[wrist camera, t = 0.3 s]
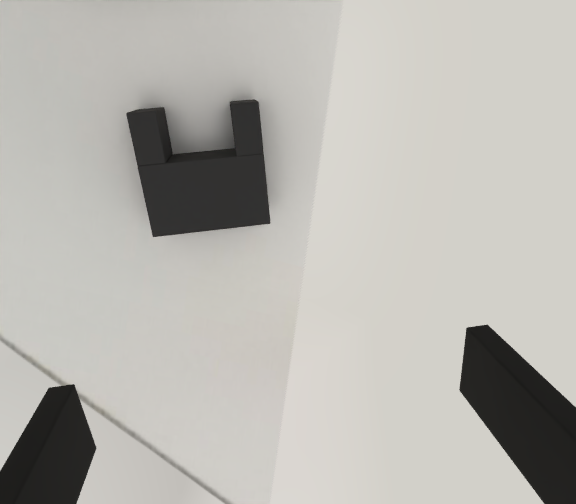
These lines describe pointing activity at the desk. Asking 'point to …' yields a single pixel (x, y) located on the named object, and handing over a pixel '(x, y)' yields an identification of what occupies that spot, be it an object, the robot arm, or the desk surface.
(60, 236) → the desk surface
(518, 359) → the robot arm
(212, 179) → the notch pad
